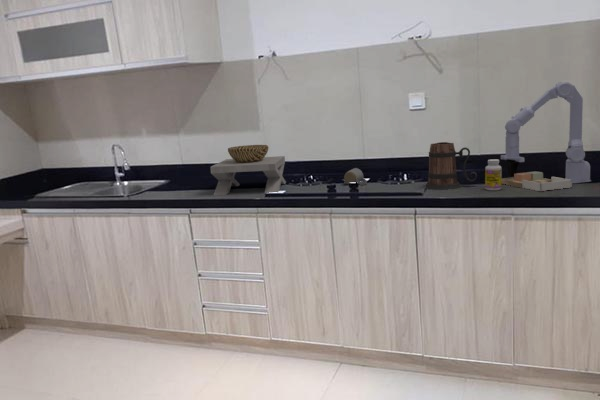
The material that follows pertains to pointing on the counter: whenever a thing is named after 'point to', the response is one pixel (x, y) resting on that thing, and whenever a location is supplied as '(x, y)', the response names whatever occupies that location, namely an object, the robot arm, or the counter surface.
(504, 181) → the oak board
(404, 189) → the counter surface
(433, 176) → the tankard
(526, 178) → the tile terracotta
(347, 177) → the ceramic mug
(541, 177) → the tile sage
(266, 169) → the grey wooden stool
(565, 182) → the box
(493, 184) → the supplement bottle
